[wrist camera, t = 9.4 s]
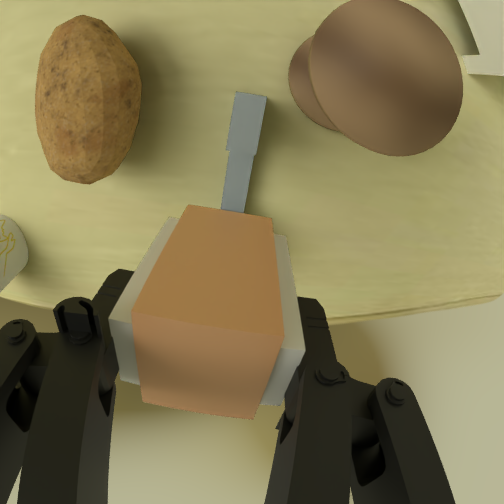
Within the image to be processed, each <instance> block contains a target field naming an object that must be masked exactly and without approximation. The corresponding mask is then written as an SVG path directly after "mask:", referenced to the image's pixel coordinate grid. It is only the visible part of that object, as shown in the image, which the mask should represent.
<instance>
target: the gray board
mask: <svg viewBox="0 0 504 504" xmlns="http://www.w3.org/2000/svg"><path fill="white" fill-rule="evenodd" d="M266 100H267V97H266V96H260V95H254V94H248V93H242V92H236V94H235V99H234V105H233V111H232V116H231V122H230V128H229V134H228V140H227V146H226V150H228V151H230V152H229V158H228V164H227V171H226V177H225V184H224V190H223V197H222V204H221V210H226V211H232V212H238V213H244V208H245V203H246V197H247V192H248V186H249V181H250V175H251V170H252V164H253V159H254V155H256V152H257V147H258V142H259V136H260V131H261V126H262V121H263V116H264V110H265V105H266Z"/></svg>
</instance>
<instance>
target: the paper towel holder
mask: <svg viewBox="0 0 504 504" xmlns="http://www.w3.org/2000/svg"><path fill="white" fill-rule="evenodd" d="M458 2H459V4H460V6H461V8H462V10H463V13H464V15H465V17H466V19H467V22H468V24H469V27H470V29H471V32H472V34H473V37H474V39H475V42H476V45H477V47H478V50H479V53H480V55H463V56H462V58H463V61H464V64H465V67H466V70H467V73H468V74H483V75H497V76H504V0H458Z"/></svg>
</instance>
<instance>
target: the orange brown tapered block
mask: <svg viewBox="0 0 504 504" xmlns="http://www.w3.org/2000/svg"><path fill="white" fill-rule="evenodd" d="M131 317H132V328H133V337H134V346H135V354H136V361H137V368H138V375H139V381H140V387H141V393H142V399H143V402H146V403H151V404H155V405H160V406H165V407H170V408H175V409H180V410H185V411H192V412H197V413H204V414H210V415H217V416H225V417H233V418H242V419H254V417H255V414H256V411H257V409H258V406H259V404H260V401H261V399H262V396H263V394H264V391H265V389H266V386H267V383H268V381H269V378H270V375H271V373H272V370H273V367H274V365H275V362H276V359H277V356H278V354H279V351H280V348H281V345H282V343H283V340H284V337H285V335H284V325H283V315H282V306H281V296H280V287H279V277H278V268H277V259H276V251H275V242H274V233H273V225H272V218H267V217H262V216H256V215H250V214H244V213H238V212H232V211H226V210H220V209H214V208H208V207H201V206H195V205H188V206H187V207H186V209H185V211H184V212H183V214H182V216H181V218H180V219H179V221H178V223H177V225H176V226H175V228H174V230H173V232H172V234H171V235H170V237H169V239H168V241H167V243H166V244H165V246H164V248H163V250H162V252H161V254H160V255H159V257H158V259H157V261H156V263H155V265H154V267H153V269H152V271H151V272H150V274H149V276H148V278H147V280H146V282H145V284H144V286H143V288H142V290H141V292H140V294H139V296H138V298H137V300H136V302H135V304H134V306H133V308H132V310H131Z"/></svg>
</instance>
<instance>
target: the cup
mask: <svg viewBox="0 0 504 504" xmlns="http://www.w3.org/2000/svg"><path fill="white" fill-rule="evenodd" d="M27 262H28V247H27V243H26V240H25V238H24V236H23V234H22V232H21V230H20V229H19V227H18V226H17V225H16V223H15V222H14V221H13V220H11V219H10V218H9V217H7V216H5V215H0V292H1V291H2V290H3V289H4V288H5V287H6V286H7V285H8V284H9V283H10V281H11V280H12V279H13V278H14V277H15V276H16V275H17V274H18V273H19V272H20V271H21V270H22V269H23V268H24V267H25V266H26V264H27Z"/></svg>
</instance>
